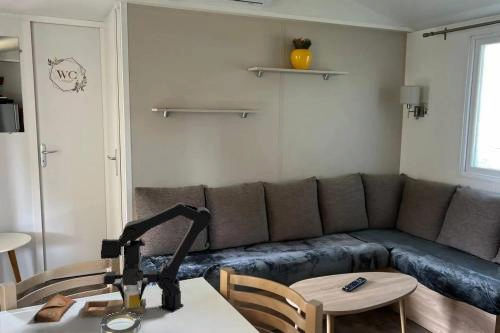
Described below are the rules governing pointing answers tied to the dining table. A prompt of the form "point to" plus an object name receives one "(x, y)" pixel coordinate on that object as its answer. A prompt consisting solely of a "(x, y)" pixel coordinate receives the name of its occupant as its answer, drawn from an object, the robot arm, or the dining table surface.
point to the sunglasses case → (54, 309)
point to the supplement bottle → (132, 296)
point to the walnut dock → (109, 308)
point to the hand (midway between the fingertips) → (132, 300)
